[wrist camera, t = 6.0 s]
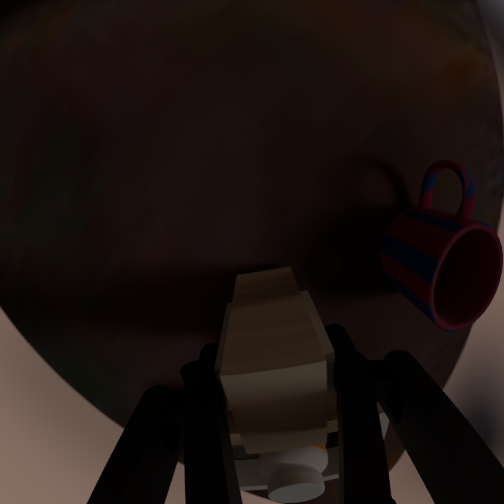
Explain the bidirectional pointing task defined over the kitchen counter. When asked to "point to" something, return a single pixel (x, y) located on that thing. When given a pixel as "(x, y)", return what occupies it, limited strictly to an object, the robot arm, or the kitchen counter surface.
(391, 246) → the mug
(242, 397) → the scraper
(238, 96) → the kitchen counter surface
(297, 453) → the supplement bottle
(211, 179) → the kitchen counter surface
